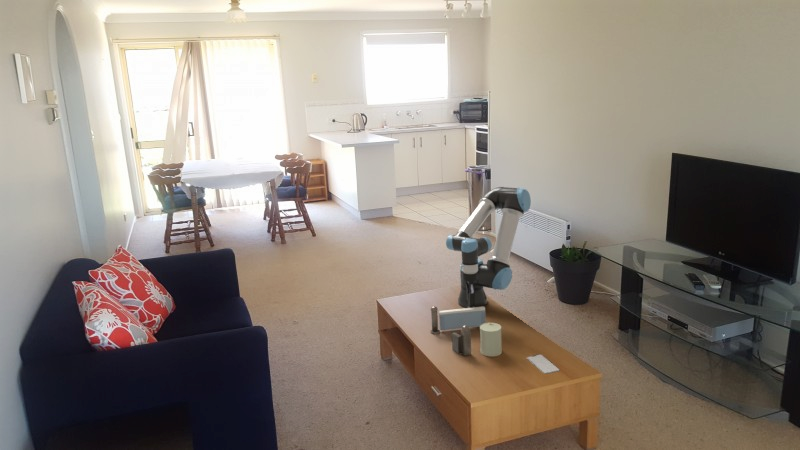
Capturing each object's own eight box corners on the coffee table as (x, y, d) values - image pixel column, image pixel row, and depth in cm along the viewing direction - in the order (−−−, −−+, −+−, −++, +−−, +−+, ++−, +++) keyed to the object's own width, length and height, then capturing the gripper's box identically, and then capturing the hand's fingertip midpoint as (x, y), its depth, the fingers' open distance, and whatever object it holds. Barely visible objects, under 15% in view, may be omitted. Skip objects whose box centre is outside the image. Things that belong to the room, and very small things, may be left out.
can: (501, 347, 253) (501, 321, 250) (502, 356, 244) (501, 330, 241) (480, 346, 254) (479, 321, 252) (480, 356, 246) (479, 330, 243)
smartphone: (544, 373, 228) (525, 357, 242) (544, 375, 228) (525, 358, 242) (560, 370, 230) (541, 353, 244) (560, 371, 230) (541, 355, 244)
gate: (440, 330, 271) (440, 312, 268) (439, 328, 273) (439, 310, 271) (485, 326, 273) (485, 308, 271) (484, 324, 275) (484, 306, 273)
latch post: (461, 347, 255) (460, 319, 252) (471, 354, 248) (471, 326, 245) (452, 349, 253) (451, 322, 250) (462, 357, 246) (461, 328, 243)
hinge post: (436, 329, 275) (435, 304, 271) (441, 332, 271) (440, 306, 268) (428, 331, 273) (427, 306, 270) (433, 334, 269) (432, 309, 266)
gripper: (460, 267, 280) (461, 313, 285) (464, 276, 267) (465, 324, 273) (475, 267, 280) (476, 312, 285) (480, 275, 267) (481, 323, 273)
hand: (471, 318), depth 279 cm, fingers closed
